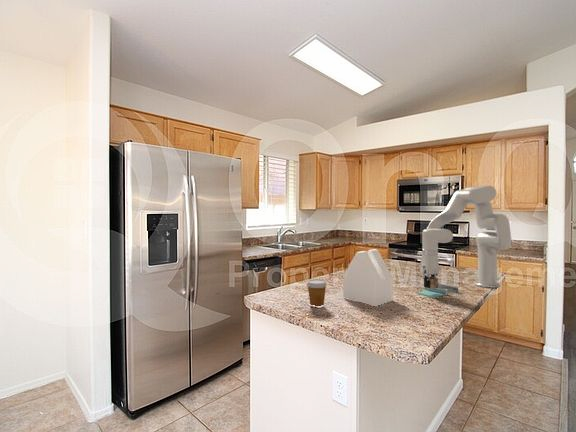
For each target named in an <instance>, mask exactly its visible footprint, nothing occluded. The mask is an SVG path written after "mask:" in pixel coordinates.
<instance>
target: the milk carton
mask: <svg viewBox="0 0 576 432" xmlns="http://www.w3.org/2000/svg"><path fill="white" fill-rule="evenodd" d="M343 297H346V298H349V299H352V300H356V301H359V302H362V303H366V304H369V305H373V306H377V305H380V306H381V304H382V305H385V304H388V303H390V302H392V301H394V278H393V275H392V274H391V272H390V269H389V268H388V266H387V264H386V263H385V261H384V259H383V256H382V255H381V253H380V251H379V250H378V248H377V249H376V248H374V249H368V250H362V251H361V250H360V251H357V252H355V255H354V256H353V258H352V259H351V262H350V263H349V264H348V266H347V269H346V271H345V272H344V274H343V276H342V298H343ZM387 302H388V303H387ZM362 303H361V304H362ZM384 303H385V304H384ZM366 304H365V305H366ZM369 305H368V306H369ZM373 306H372V307H373ZM377 307H378V306H377Z"/></svg>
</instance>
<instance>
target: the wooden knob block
mask: <svg viewBox="0 0 576 432" xmlns="http://www.w3.org/2000/svg"><path fill="white" fill-rule="evenodd" d="M429 280H430V288H431V289H435V288H438V283H439V278H434V277H431V276H430V278H429Z"/></svg>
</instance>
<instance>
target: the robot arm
mask: <svg viewBox="0 0 576 432" xmlns="http://www.w3.org/2000/svg"><path fill="white" fill-rule="evenodd" d="M496 196H497V189H496V188H495V187H494V186H493V185H476V186H474V185H473V186H467V187H465V188H463V189H458V190H455V192H454V193H453V195H452V196H451V198H450V200H449V202H448V203H447V205H446V206H445V209H444V210H443V211H442V212H441V213H439V214H438V215H437V216H435V217H434V218H433V219H432V220H431V221H430V222H429V224H428V226H427V227H426V229H423V230H422V233H421V234H422V235H421V236H422V244H421V245H422V246H421V247H422V252H421V254H422V255H421V256H420V266H419V271H420V272H419V273H420V276H421V277H422V280H423V287H424V288H425V287H426V288H430V280H429V278H430V276H431V277H434V278H437V276H438V274H439V273H440V271H439V268H440V265H439V257H438V256H439V243H441V244H447V243H450V242H452V240H453V238H454V234H453V232H452V231H451V230H450V229H447V228H442V227H443V226H445V225H446V224H447V225H448V224H449V223H451V222H454V221H457V220H459V219H460V218H461V217H462V215H463V213H464V210H465V208H466V207H467V206H468V205H470V206H473V207H474V210H475V211H474V212H475V219H476V225H477V227H478V228H479V229H480V230H484V231H481V232H479V233H478V234H477V235H476V238H475V242H476V243H475V244H476V245H477V281H475V282H474V285H476V286H478V287H483V288H489V287H490V288H493V289H494V288H495V289H496V288H501V283H499V282H498V281H500V278H499V277H498V253H497V252H496V250H502V251H503V250H508V249H510V247H511V245H512V234H511V233H512V232H511V225H510V220H509V218H508V217H507V215H505V214H502V213H494V211H493V206H492V203H491V201H493V200H494V199H495V198H496ZM490 288H489V289H490Z"/></svg>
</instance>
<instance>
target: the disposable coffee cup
mask: <svg viewBox="0 0 576 432" xmlns="http://www.w3.org/2000/svg"><path fill="white" fill-rule="evenodd" d="M306 286H307V290H308V297H309V305H310V304H311V305H315V306H321V305H325V297H326V287H327V282H326V280H324V279H319V278H318V279H317V278H315V279H308V281H307V283H306Z"/></svg>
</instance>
